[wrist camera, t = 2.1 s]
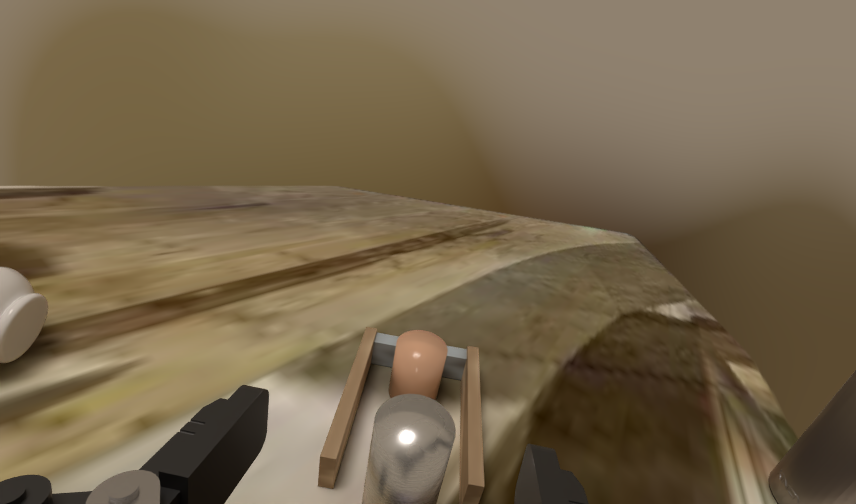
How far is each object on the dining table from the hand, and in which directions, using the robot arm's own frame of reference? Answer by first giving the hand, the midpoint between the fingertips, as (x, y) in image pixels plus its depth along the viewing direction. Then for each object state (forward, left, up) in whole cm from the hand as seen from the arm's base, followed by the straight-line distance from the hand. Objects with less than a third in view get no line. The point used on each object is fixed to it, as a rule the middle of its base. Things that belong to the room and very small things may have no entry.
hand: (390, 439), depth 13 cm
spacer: (-1, -23, -21) cm, 31 cm away
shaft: (-1, -9, -21) cm, 23 cm away
